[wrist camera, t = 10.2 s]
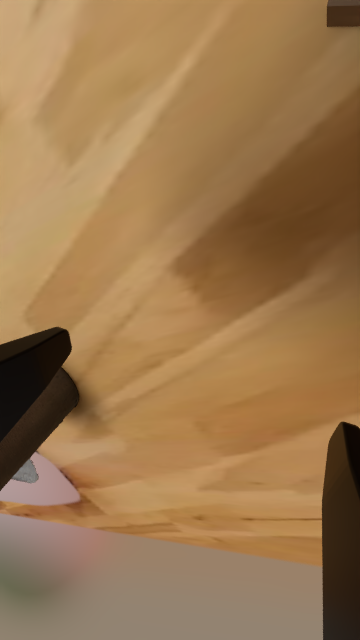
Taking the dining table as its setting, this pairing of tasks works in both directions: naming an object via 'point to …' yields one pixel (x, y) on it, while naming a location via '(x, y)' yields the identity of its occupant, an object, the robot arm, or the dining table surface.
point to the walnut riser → (343, 13)
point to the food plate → (26, 473)
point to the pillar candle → (37, 425)
